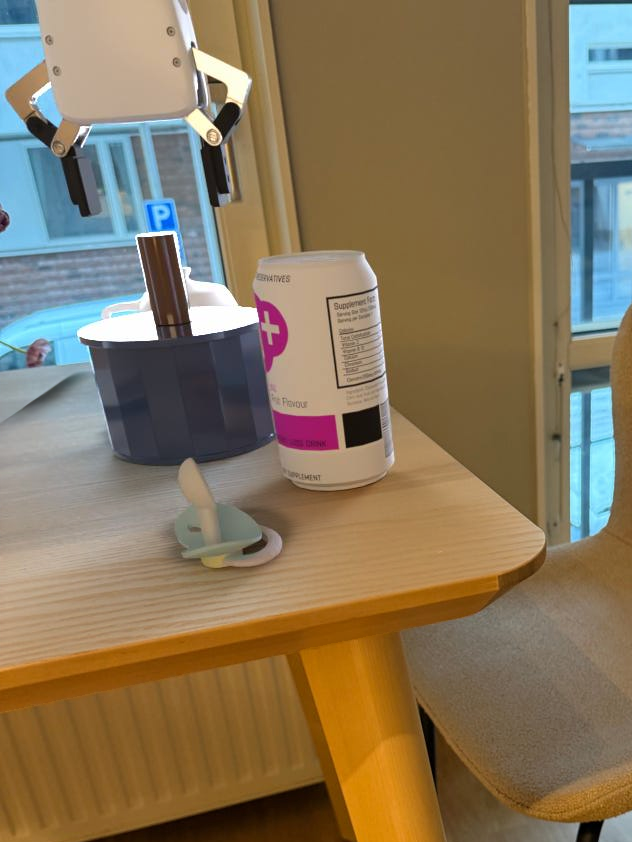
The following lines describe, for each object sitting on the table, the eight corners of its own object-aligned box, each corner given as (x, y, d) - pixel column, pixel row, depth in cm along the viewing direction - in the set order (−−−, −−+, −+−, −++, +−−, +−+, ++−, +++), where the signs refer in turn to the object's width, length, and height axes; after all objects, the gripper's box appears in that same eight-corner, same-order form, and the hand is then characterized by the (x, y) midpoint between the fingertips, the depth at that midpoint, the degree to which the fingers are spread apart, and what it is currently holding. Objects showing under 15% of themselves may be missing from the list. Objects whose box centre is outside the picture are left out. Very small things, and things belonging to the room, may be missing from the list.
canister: (91, 470, 72) (60, 352, 68) (138, 423, 84) (114, 320, 80) (265, 459, 73) (246, 341, 68) (287, 413, 85) (272, 310, 80)
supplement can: (289, 500, 64) (252, 268, 57) (279, 465, 71) (245, 255, 64) (404, 484, 66) (383, 257, 59) (383, 452, 73) (362, 246, 66)
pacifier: (270, 528, 60) (175, 543, 58) (257, 433, 57) (156, 445, 55) (295, 569, 54) (189, 588, 52) (282, 465, 51) (169, 480, 49)
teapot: (288, 342, 115) (275, 255, 110) (290, 363, 104) (276, 266, 99) (120, 358, 112) (100, 268, 107) (106, 380, 101) (82, 281, 96)
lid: (53, 363, 68) (23, 250, 64) (112, 327, 81) (89, 231, 77) (253, 350, 68) (234, 237, 65) (279, 316, 81) (265, 220, 77)
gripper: (235, -69, 65) (276, 198, 74) (-12, -52, 65) (58, 215, 73) (214, -91, 59) (262, 205, 67) (-60, -72, 59) (22, 223, 67)
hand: (155, 210), depth 70 cm, fingers open, 9 cm apart
